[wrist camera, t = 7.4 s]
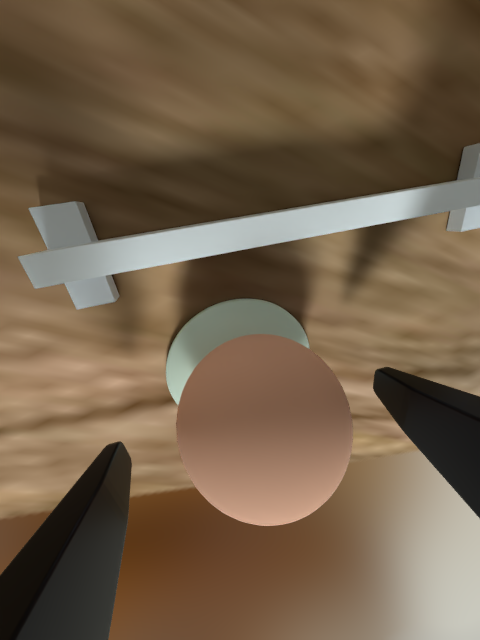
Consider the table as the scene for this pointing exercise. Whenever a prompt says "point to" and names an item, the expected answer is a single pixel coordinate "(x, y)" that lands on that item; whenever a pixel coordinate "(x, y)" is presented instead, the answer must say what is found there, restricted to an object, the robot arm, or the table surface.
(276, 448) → the ball
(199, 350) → the felt coaster
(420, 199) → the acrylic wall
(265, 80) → the table surface
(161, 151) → the table surface
